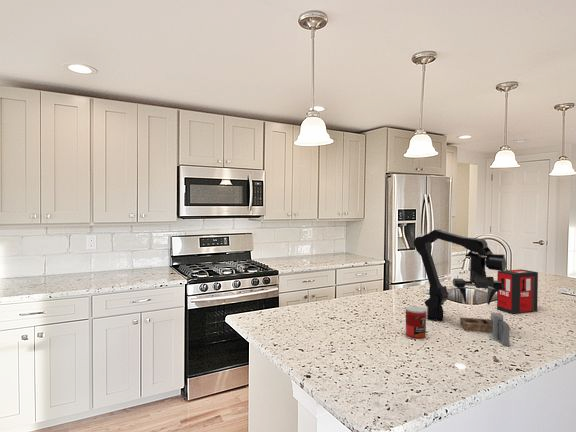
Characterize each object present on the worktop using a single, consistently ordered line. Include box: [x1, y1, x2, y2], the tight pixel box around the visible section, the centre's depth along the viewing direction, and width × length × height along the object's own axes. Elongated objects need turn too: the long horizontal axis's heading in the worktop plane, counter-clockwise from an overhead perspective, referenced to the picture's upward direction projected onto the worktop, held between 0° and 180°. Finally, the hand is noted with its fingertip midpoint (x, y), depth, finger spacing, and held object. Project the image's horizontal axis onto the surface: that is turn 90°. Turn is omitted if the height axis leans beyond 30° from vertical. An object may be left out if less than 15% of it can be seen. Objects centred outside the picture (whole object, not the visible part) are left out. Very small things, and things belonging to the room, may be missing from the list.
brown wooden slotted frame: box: [459, 317, 491, 333], centre depth 156 cm, size 12×9×3 cm
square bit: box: [489, 312, 504, 341], centre depth 144 cm, size 4×4×10 cm
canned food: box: [405, 305, 427, 340], centre depth 147 cm, size 8×8×11 cm
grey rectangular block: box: [497, 320, 510, 347], centre depth 138 cm, size 2×5×8 cm, turn 166°
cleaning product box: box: [496, 268, 539, 316], centre depth 184 cm, size 16×9×20 cm, turn 108°
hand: (476, 303), depth 156 cm, fingers open, 9 cm apart
